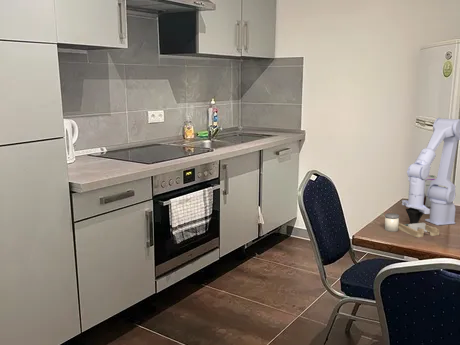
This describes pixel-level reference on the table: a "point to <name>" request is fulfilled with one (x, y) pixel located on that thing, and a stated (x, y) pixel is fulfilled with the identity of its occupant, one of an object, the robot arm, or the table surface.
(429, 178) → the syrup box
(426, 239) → the table surface
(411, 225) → the pusher
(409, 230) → the lane
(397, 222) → the jar
